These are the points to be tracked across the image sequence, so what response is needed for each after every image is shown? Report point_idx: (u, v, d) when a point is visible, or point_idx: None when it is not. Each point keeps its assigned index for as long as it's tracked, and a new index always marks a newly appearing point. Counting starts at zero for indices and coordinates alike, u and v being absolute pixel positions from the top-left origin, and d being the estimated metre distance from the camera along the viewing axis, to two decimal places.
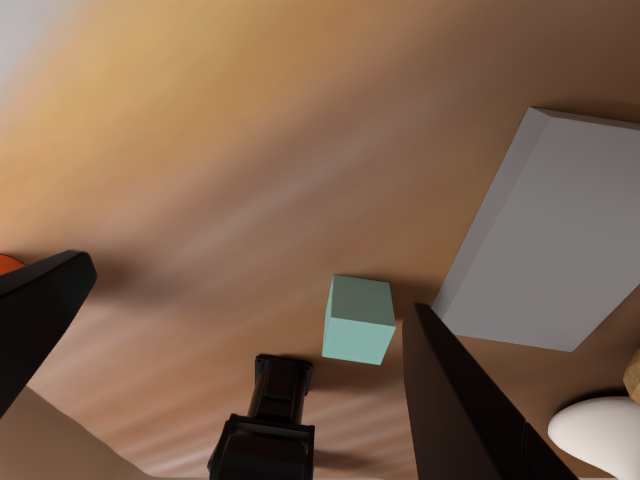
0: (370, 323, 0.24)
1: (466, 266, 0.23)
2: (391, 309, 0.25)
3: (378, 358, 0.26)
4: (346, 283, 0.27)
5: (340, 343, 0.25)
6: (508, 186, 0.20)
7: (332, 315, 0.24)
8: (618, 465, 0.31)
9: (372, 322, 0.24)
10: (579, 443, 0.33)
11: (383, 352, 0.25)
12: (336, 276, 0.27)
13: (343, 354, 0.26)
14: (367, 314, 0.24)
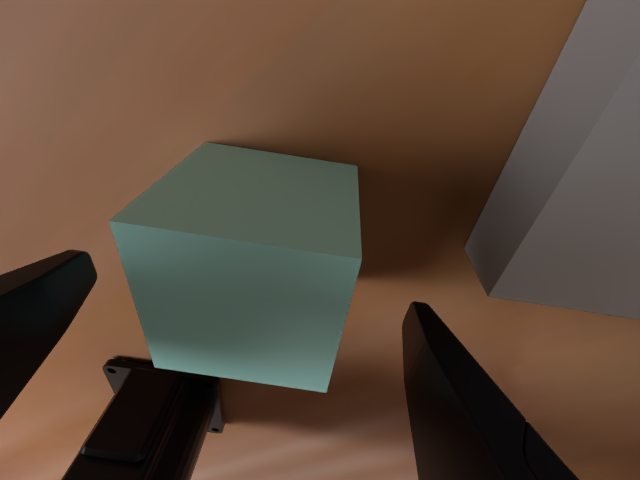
0: (262, 247, 0.06)
1: None
2: (353, 214, 0.08)
3: (318, 375, 0.08)
4: (232, 157, 0.09)
5: (190, 326, 0.08)
6: None
7: (121, 216, 0.06)
8: None
9: (272, 242, 0.06)
10: None
11: (328, 357, 0.08)
12: (211, 145, 0.10)
13: (212, 361, 0.09)
14: (264, 222, 0.07)
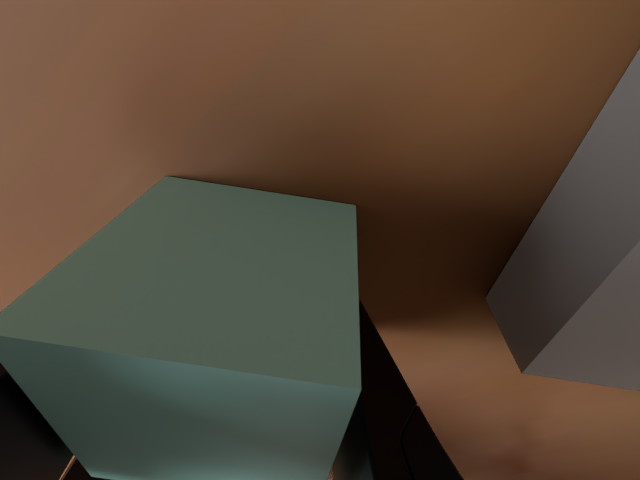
0: (211, 370, 0.04)
1: None
2: (350, 293, 0.05)
3: None
4: (194, 201, 0.07)
5: (127, 444, 0.06)
6: None
7: (0, 321, 0.04)
8: None
9: (226, 361, 0.04)
10: None
11: None
12: (171, 182, 0.08)
13: (164, 475, 0.06)
14: (219, 318, 0.05)
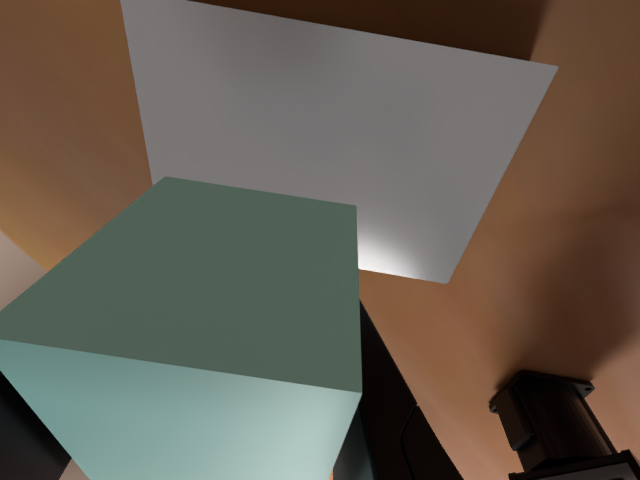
0: (210, 373, 0.04)
1: None
2: (351, 294, 0.05)
3: None
4: (193, 201, 0.07)
5: (124, 448, 0.06)
6: None
7: None
8: None
9: (225, 364, 0.04)
10: None
11: None
12: (170, 182, 0.08)
13: (163, 478, 0.06)
14: (218, 320, 0.05)
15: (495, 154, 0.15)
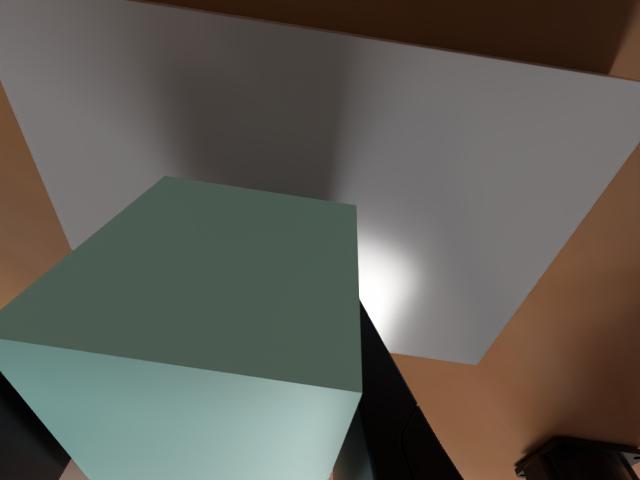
0: (209, 373, 0.04)
1: None
2: (351, 294, 0.05)
3: None
4: (193, 200, 0.07)
5: (124, 447, 0.06)
6: None
7: None
8: None
9: (225, 364, 0.04)
10: None
11: None
12: (170, 182, 0.08)
13: (162, 478, 0.06)
14: (218, 320, 0.05)
15: (558, 214, 0.10)
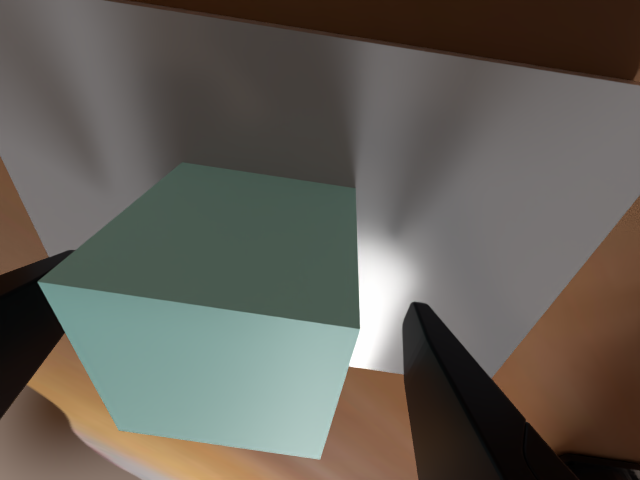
0: (233, 314, 0.05)
1: None
2: (350, 258, 0.06)
3: (310, 442, 0.07)
4: (209, 183, 0.08)
5: (154, 393, 0.06)
6: None
7: (55, 274, 0.05)
8: None
9: (246, 307, 0.05)
10: None
11: (321, 426, 0.07)
12: (187, 167, 0.09)
13: (185, 426, 0.07)
14: (237, 275, 0.05)
15: (578, 232, 0.09)
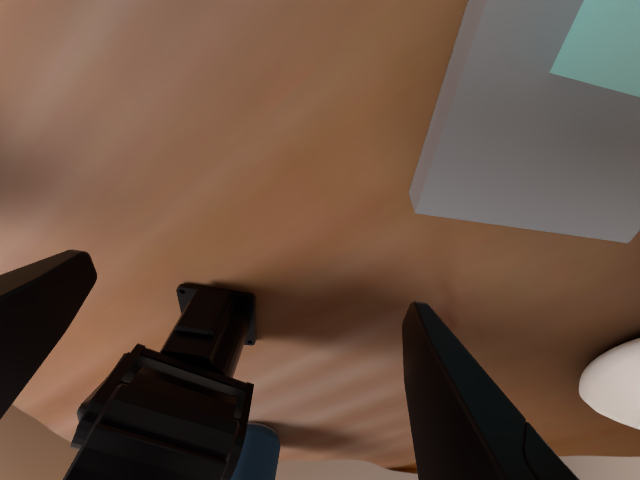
0: None
1: (459, 70, 0.14)
2: None
3: None
4: None
5: None
6: None
7: None
8: None
9: None
10: (627, 399, 0.24)
11: None
12: None
13: None
14: None
15: (568, 221, 0.17)
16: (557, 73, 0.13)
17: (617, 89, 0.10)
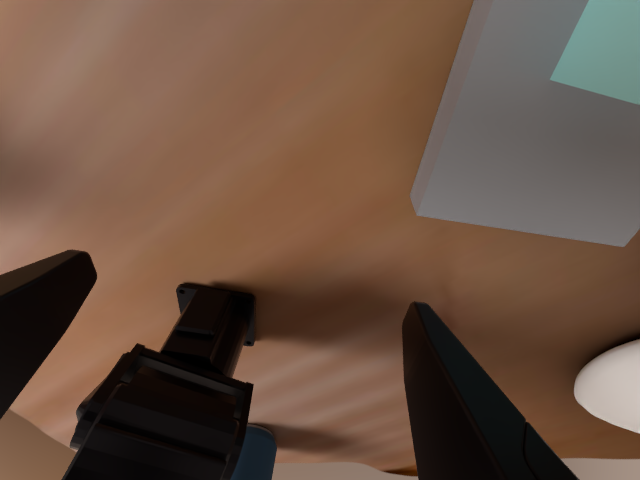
0: None
1: (462, 76, 0.14)
2: None
3: None
4: None
5: None
6: None
7: None
8: None
9: None
10: (621, 401, 0.24)
11: None
12: None
13: None
14: None
15: (566, 225, 0.17)
16: (557, 80, 0.13)
17: (616, 97, 0.10)
